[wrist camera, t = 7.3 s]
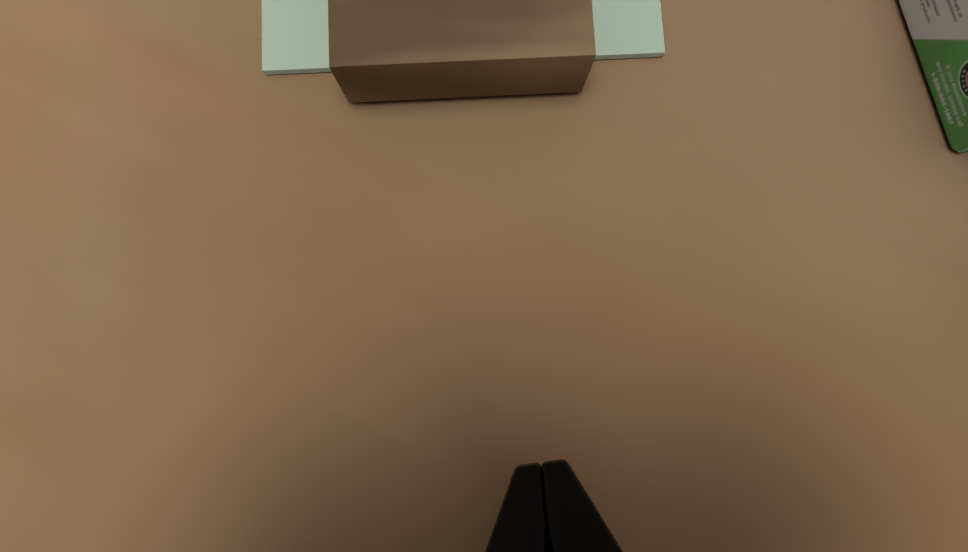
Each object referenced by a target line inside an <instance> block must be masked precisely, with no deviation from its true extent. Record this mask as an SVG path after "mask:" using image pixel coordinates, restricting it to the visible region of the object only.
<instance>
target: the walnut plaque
mask: <svg viewBox="0 0 968 552" xmlns="http://www.w3.org/2000/svg"><path fill="white" fill-rule="evenodd" d="M328 32H329V68H330V69H331V71H332V73H333V75H334V76H335V78H336V80H337V82H338V84H339V85H340V87H341V89H342V91H343V92H344V94H345V96H346V98H347V100H348V101H349V103H350V102H372V101H394V100H416V99H438V98H459V97H481V96H503V95H525V94H547V93H568V92H581V91H582V89H583V86H584V84H585V81H586V79H587V76H588V74H589V71H590V69H591V66H592V64H593V61H594V59H595V56H596V48H595V35H594V22H593V9H592V0H328Z"/></svg>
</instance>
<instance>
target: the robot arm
mask: <svg viewBox="0 0 968 552" xmlns="http://www.w3.org/2000/svg"><path fill="white" fill-rule="evenodd" d="M485 552H623V551H622V550H621V548H620V546H619V545H618V543H617V542H616V540H615V538H614V537H613V535H612V533H611V532H610V530H609V529H608V527H607V525H606V524H605V522H604V520H603V519H602V517H601V515H600V514H599V512H598V511H597V509H596V507H595V506H594V504H593V502H592V501H591V499H590V498H589V496H588V494H587V493H586V491H585V489H584V488H583V486H582V485H581V483H580V481H579V480H578V478H577V476H576V475H575V473H574V472H573V470H572V468H571V467H570V465H569V464H568V462H567V461H566V460H563V459H561V460H553V461H546V462H544V463H543V464H542V467H541V465H540V464H539V463H530V464H523V465H518V466H517V467H516V468H515V470H514V473H513V475H512V478H511V481H510V484H509V486H508V489H507V492H506V495H505V498H504V500H503V503H502V506H501V509H500V512H499V514H498V517H497V520H496V523H495V525H494V528H493V531H492V534H491V537H490V539H489V542H488V545H487V548H486V550H485Z"/></svg>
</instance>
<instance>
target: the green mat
mask: <svg viewBox="0 0 968 552" xmlns="http://www.w3.org/2000/svg"><path fill="white" fill-rule="evenodd" d="M592 9H593V22H594V35H595V48H596V56H595V59H594V60H602V59H624V58H646V57H662V56H663V55H664V53H665V47H664V36H663V25H662V14H661V3H660V0H592ZM262 71H263V72H264V74H265V75H274V74H296V73H318V72H332V71H331V69H330V68H329V32H328V0H262Z"/></svg>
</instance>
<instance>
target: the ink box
mask: <svg viewBox="0 0 968 552" xmlns="http://www.w3.org/2000/svg"><path fill="white" fill-rule="evenodd" d="M899 3H900V6H901V9H902V12H903V14H904V17H905V20H906V23H907V26H908V29H909V31H910V34H911V37H912V40H913V43H914V45H915V48H916V51H917V54H918V56H919V59H920V62H921V65H922V68H923V71H924V73H925V76H926V79H927V82H928V85H929V87H930V90H931V93H932V96H933V98H934V101H935V104H936V107H937V110H938V113H939V116H940V118H941V121H942V124H943V127H944V130H945V133H946V135H947V138H948V141H949V144H950V146H951V148H952V149H953V150H955V151H957V152H958V153H963V152H967V151H968V0H899Z"/></svg>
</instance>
